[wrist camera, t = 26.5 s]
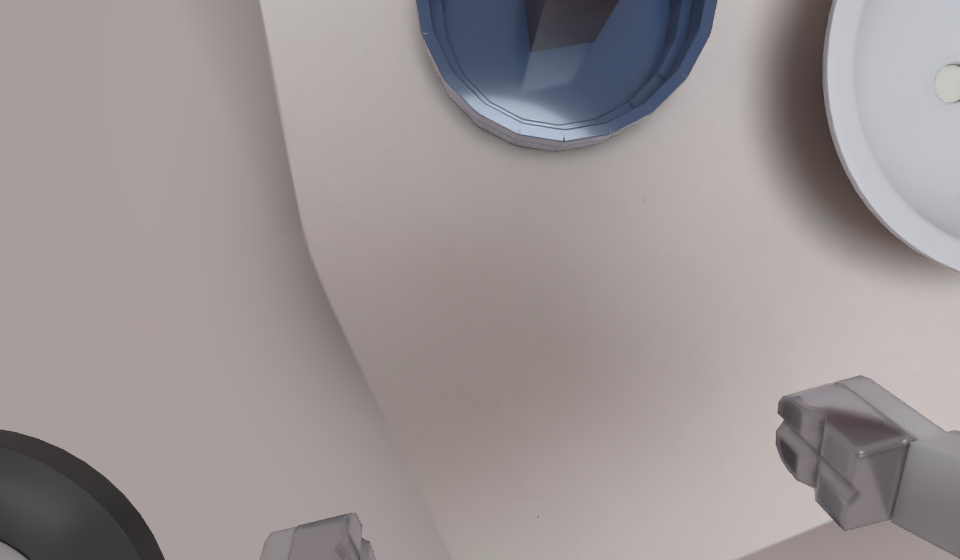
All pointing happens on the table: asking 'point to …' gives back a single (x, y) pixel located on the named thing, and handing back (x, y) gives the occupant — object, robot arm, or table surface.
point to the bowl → (562, 67)
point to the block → (565, 21)
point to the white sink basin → (898, 116)
